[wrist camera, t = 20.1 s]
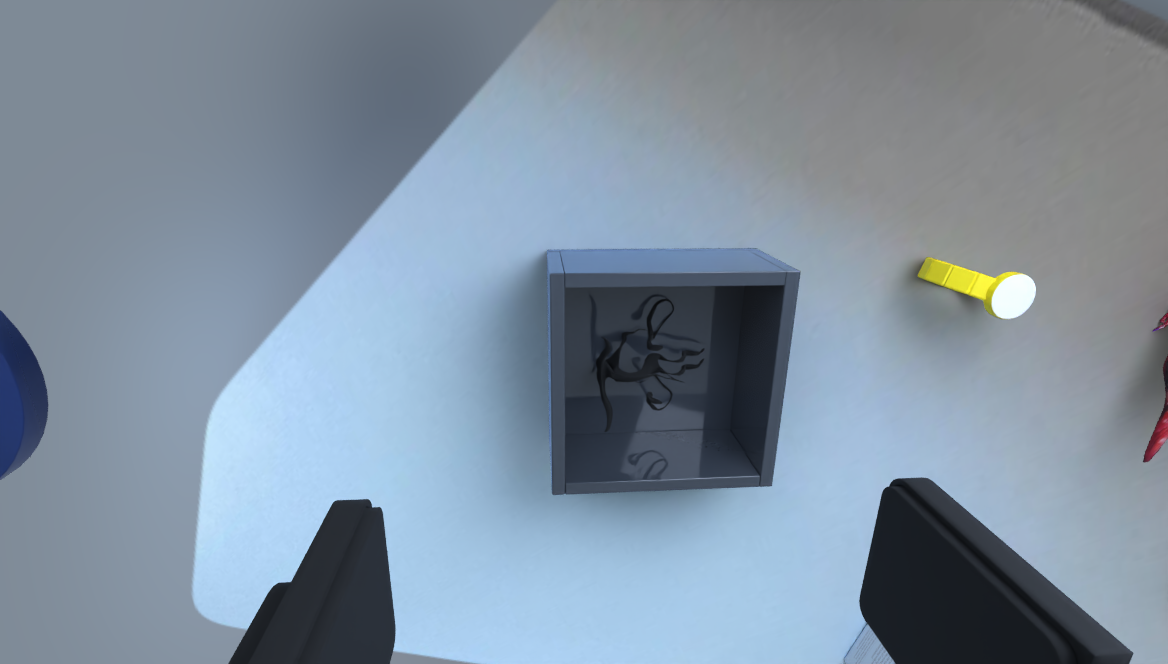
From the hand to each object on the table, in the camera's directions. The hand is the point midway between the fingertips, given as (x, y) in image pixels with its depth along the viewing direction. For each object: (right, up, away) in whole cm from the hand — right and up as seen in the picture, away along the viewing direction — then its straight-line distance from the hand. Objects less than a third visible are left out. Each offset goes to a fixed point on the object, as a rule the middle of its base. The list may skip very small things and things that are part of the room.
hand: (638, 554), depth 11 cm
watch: (+23, +8, +29) cm, 38 cm away
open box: (+3, +3, +28) cm, 29 cm away
